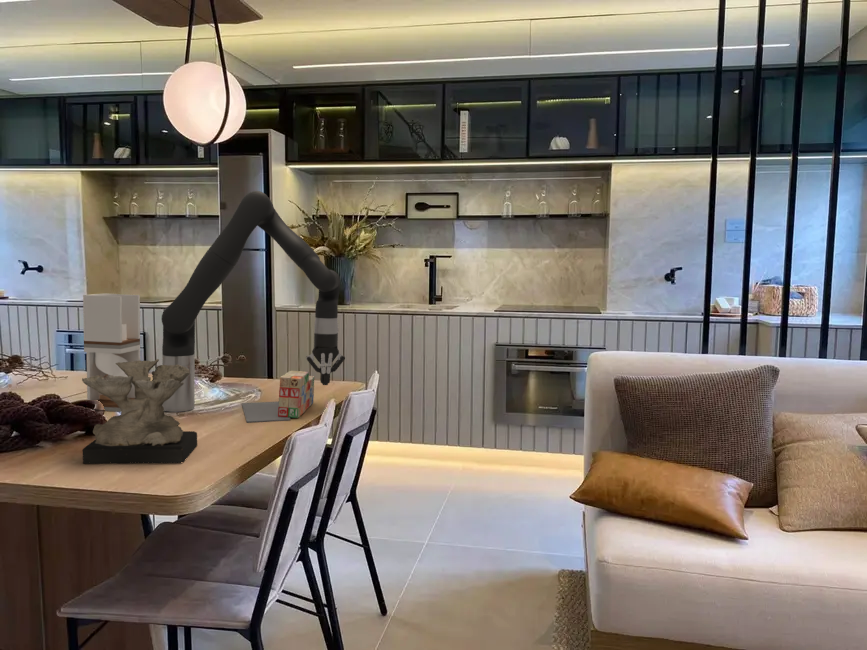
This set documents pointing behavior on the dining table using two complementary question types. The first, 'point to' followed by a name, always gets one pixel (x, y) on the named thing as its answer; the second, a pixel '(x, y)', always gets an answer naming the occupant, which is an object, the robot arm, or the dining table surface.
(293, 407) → the stack of blocks
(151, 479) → the dining table surface
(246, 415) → the mat
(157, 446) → the coral
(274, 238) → the robot arm
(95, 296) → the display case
